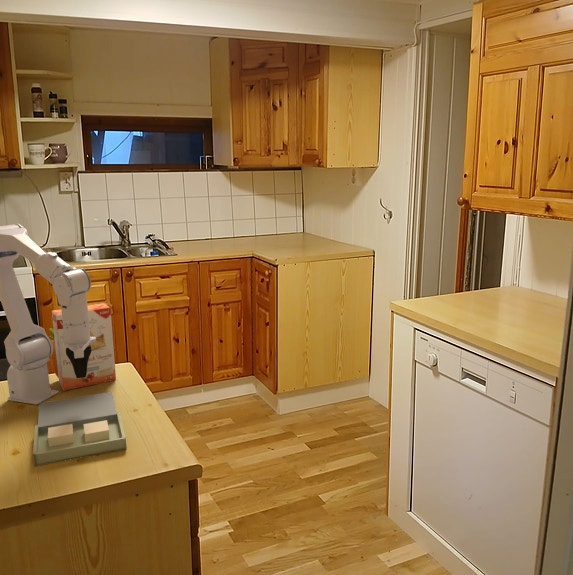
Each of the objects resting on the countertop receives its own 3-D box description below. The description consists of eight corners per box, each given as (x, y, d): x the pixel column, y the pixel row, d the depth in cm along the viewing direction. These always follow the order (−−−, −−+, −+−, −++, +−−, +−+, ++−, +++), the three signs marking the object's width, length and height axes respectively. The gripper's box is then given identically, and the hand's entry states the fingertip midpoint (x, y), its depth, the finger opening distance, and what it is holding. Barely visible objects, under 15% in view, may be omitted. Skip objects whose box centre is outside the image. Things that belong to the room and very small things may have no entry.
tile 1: (49, 436, 129) (48, 427, 129) (73, 432, 131) (72, 423, 131) (48, 446, 125) (47, 438, 124) (73, 442, 126) (72, 433, 126)
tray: (36, 435, 130) (35, 425, 130) (120, 421, 137) (119, 411, 136) (34, 466, 118) (32, 455, 117) (126, 449, 124) (125, 438, 124)
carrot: (75, 378, 162) (69, 326, 158) (61, 385, 158) (55, 331, 154) (61, 375, 164) (55, 324, 161) (47, 382, 160) (41, 329, 156)
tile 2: (84, 432, 131) (83, 424, 130) (107, 428, 132) (106, 420, 132) (85, 442, 126) (84, 434, 126) (109, 438, 128) (108, 429, 127)
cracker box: (63, 392, 153) (55, 315, 148) (59, 384, 158) (50, 309, 153) (117, 380, 160) (110, 306, 155) (111, 373, 165) (104, 301, 160)
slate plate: (40, 410, 143) (39, 403, 142) (112, 399, 149) (112, 391, 148) (38, 435, 131) (37, 427, 130) (117, 421, 136) (117, 414, 136)
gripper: (95, 328, 131) (100, 385, 134) (92, 311, 144) (97, 363, 147) (61, 332, 128) (67, 390, 131) (61, 314, 141) (67, 367, 145)
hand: (81, 376), depth 139 cm, fingers closed
